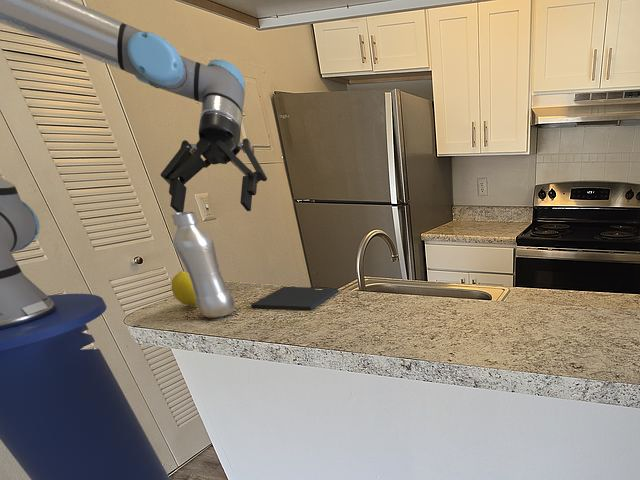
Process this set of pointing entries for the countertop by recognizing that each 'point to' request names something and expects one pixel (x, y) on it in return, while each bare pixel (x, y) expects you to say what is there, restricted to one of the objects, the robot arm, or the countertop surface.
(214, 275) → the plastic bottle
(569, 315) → the countertop surface
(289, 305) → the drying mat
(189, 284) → the lemon
